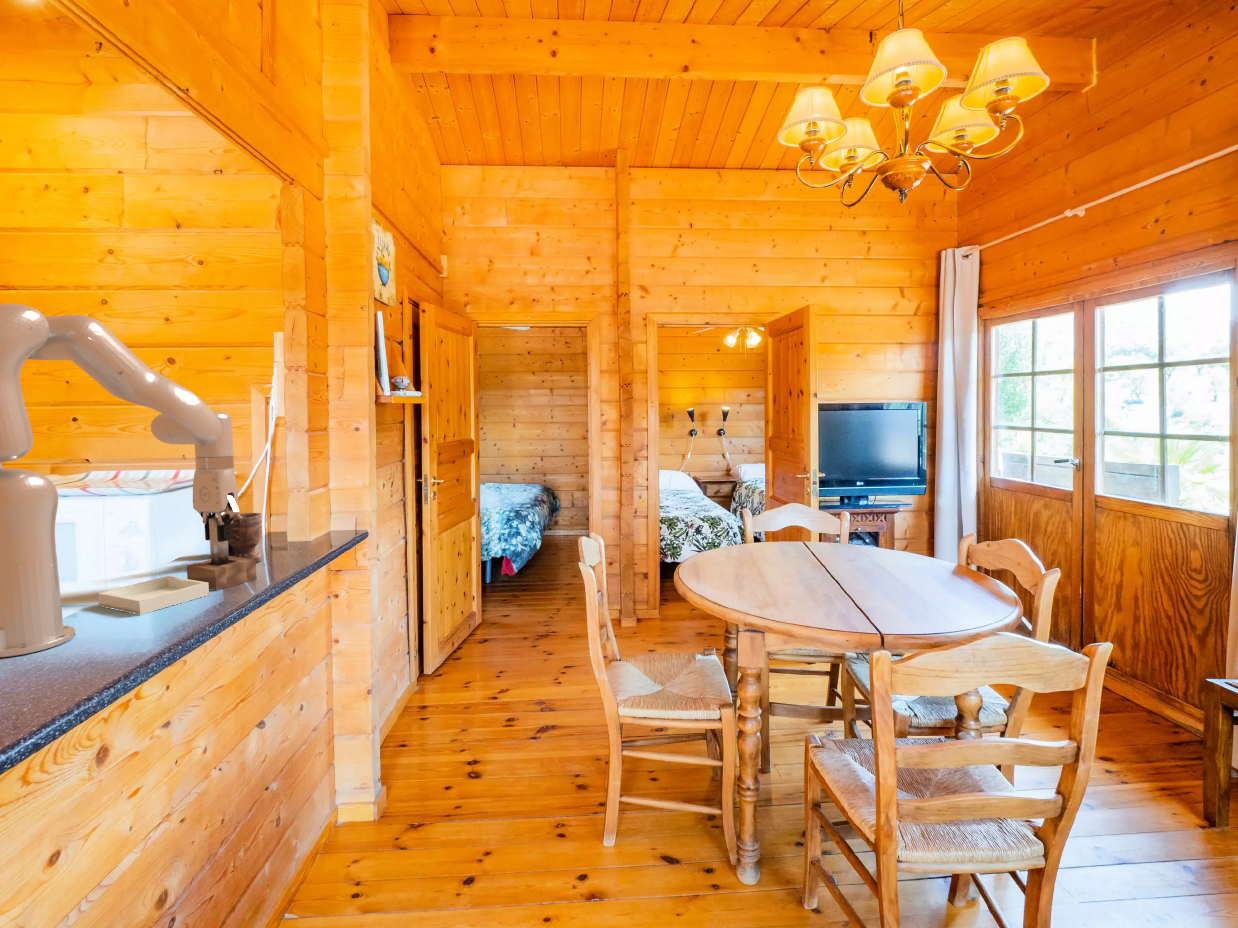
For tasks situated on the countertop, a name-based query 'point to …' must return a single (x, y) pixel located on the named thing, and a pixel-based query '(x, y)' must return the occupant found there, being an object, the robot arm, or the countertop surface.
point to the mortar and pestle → (246, 535)
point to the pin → (217, 545)
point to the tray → (153, 594)
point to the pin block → (223, 572)
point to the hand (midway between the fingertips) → (218, 539)
